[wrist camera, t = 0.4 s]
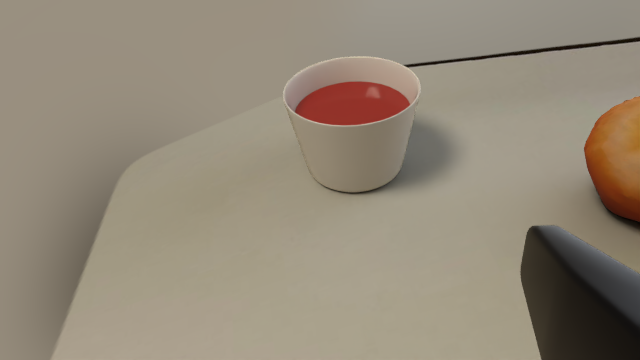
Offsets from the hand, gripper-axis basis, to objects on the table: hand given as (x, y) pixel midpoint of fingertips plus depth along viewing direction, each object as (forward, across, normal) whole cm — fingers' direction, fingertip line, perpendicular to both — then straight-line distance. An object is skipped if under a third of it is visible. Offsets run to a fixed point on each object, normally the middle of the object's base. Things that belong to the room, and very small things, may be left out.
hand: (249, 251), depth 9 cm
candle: (+27, -2, +13) cm, 30 cm away
